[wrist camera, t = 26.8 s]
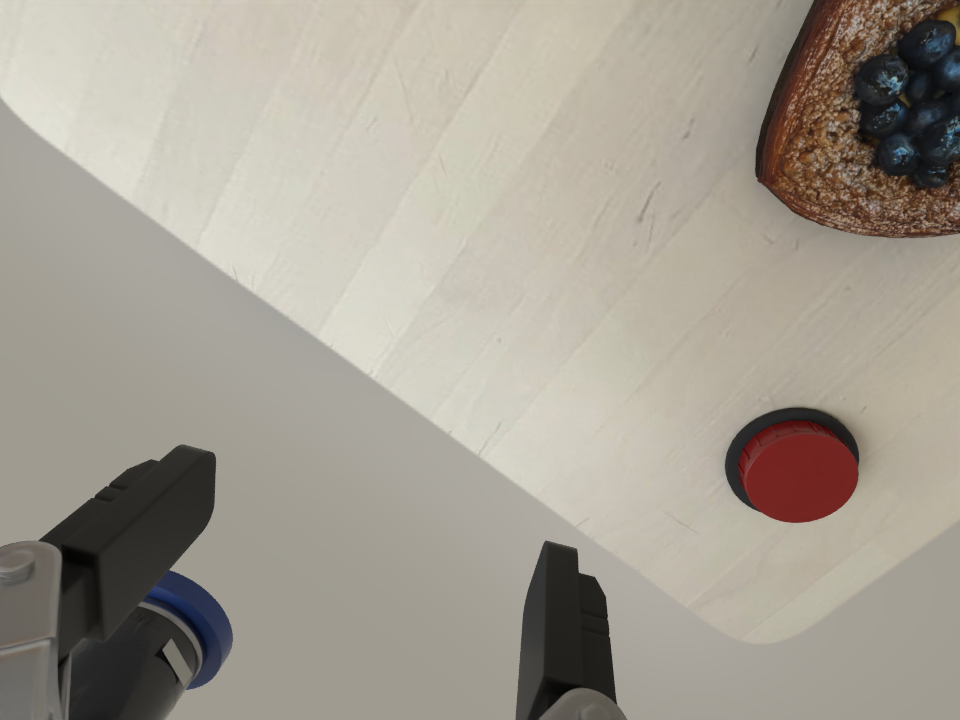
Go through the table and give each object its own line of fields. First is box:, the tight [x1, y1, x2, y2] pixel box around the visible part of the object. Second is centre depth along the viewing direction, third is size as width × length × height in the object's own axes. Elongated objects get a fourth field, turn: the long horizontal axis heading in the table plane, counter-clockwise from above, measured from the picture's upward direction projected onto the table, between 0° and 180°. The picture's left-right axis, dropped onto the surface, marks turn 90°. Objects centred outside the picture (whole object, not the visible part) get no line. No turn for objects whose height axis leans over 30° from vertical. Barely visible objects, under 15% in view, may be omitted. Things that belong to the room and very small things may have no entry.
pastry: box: [755, 0, 960, 238], centre depth 23 cm, size 11×12×6 cm
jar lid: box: [737, 420, 858, 523], centre depth 32 cm, size 6×6×2 cm
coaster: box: [725, 408, 859, 512], centre depth 33 cm, size 7×7×1 cm
